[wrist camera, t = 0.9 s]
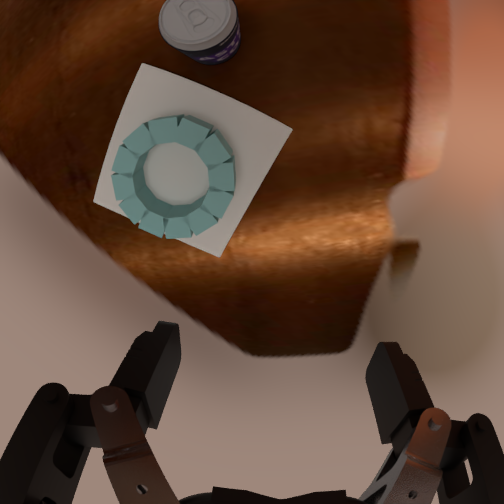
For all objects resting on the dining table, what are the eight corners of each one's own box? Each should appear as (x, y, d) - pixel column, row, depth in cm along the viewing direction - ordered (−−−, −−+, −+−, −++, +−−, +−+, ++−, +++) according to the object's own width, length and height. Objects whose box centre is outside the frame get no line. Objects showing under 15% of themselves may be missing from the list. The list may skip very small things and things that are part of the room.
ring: (112, 199, 32) (100, 210, 29) (148, 98, 26) (136, 99, 23) (206, 240, 35) (202, 255, 32) (256, 145, 29) (257, 152, 26)
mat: (95, 199, 33) (93, 201, 32) (144, 63, 24) (142, 63, 24) (220, 254, 37) (219, 257, 37) (291, 128, 29) (292, 129, 28)
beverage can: (205, 75, 26) (181, 65, 16) (177, 38, 23) (138, 12, 13) (251, 47, 24) (254, 20, 14) (222, 10, 22) (208, -32, 11)
